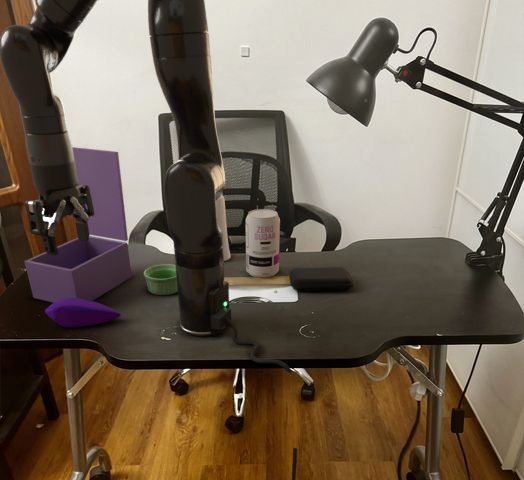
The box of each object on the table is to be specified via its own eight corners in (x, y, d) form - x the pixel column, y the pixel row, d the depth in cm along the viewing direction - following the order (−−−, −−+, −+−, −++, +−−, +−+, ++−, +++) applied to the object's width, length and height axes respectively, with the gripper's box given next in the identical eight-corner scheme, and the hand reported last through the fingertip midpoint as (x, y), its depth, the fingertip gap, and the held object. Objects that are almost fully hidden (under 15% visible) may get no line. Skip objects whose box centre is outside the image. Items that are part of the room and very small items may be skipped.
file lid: (116, 152, 113) (130, 149, 117) (68, 147, 117) (84, 144, 121) (126, 241, 122) (139, 235, 127) (82, 233, 127) (96, 228, 131)
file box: (79, 308, 113) (71, 271, 108) (33, 297, 117) (24, 261, 113) (132, 276, 128) (127, 242, 123) (89, 268, 132) (83, 234, 128)
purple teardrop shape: (118, 309, 104) (40, 305, 102) (119, 330, 106) (43, 327, 104) (121, 299, 108) (46, 295, 106) (122, 319, 111) (48, 316, 108)
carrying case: (346, 274, 129) (287, 275, 129) (347, 263, 128) (287, 263, 127) (354, 293, 120) (290, 293, 120) (355, 280, 119) (291, 281, 118)
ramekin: (180, 278, 127) (178, 261, 124) (188, 293, 120) (187, 275, 117) (143, 283, 124) (141, 266, 122) (149, 299, 117) (147, 281, 115)
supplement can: (265, 263, 135) (265, 206, 128) (285, 273, 130) (287, 214, 122) (239, 270, 131) (238, 212, 123) (259, 281, 126) (259, 220, 118)
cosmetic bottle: (216, 263, 135) (212, 177, 124) (203, 256, 139) (198, 172, 128) (235, 258, 139) (233, 173, 127) (222, 251, 143) (218, 169, 131)
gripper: (37, 169, 84) (57, 263, 93) (95, 153, 95) (108, 238, 104) (3, 164, 87) (25, 256, 95) (63, 150, 98) (79, 233, 106)
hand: (69, 247), depth 99 cm, fingers open, 8 cm apart
